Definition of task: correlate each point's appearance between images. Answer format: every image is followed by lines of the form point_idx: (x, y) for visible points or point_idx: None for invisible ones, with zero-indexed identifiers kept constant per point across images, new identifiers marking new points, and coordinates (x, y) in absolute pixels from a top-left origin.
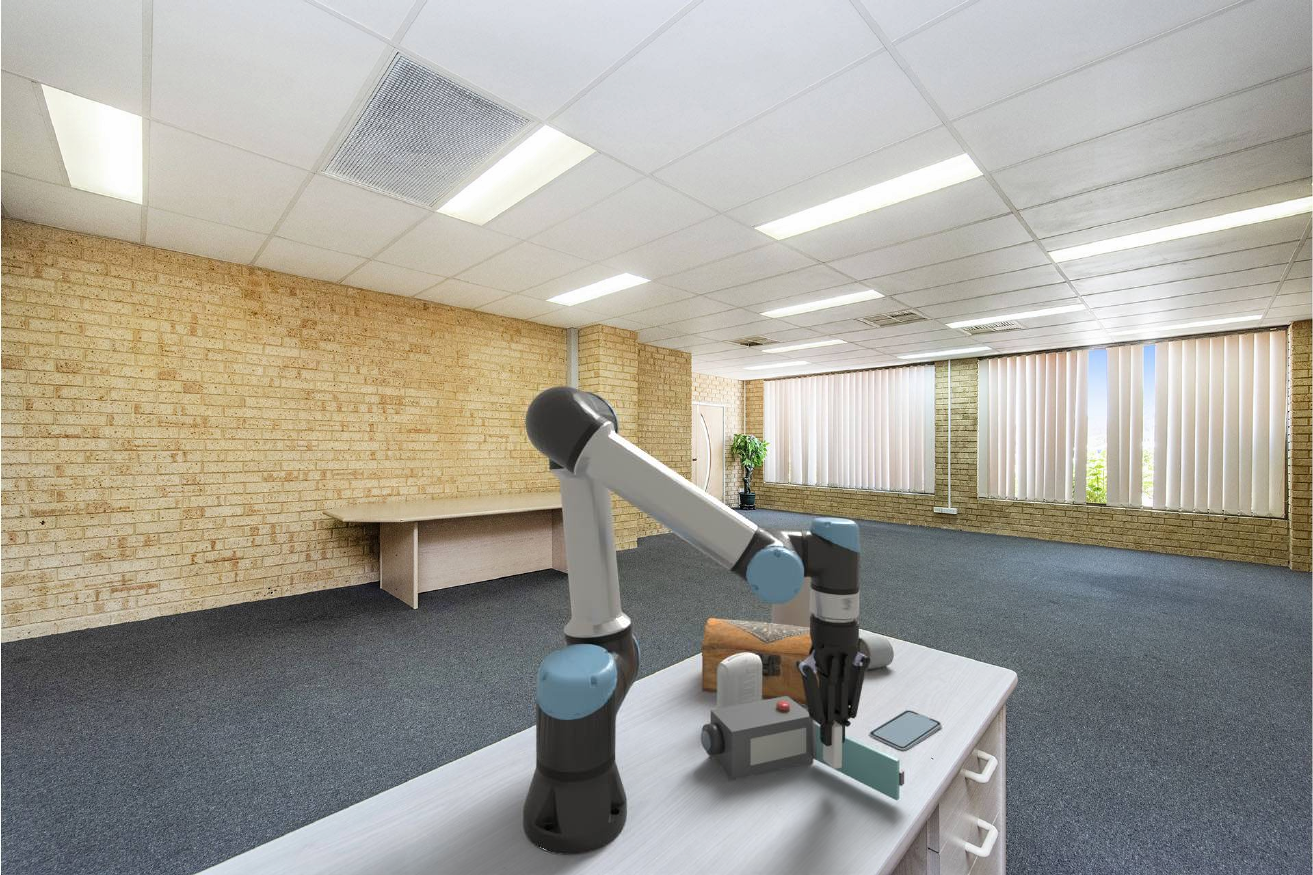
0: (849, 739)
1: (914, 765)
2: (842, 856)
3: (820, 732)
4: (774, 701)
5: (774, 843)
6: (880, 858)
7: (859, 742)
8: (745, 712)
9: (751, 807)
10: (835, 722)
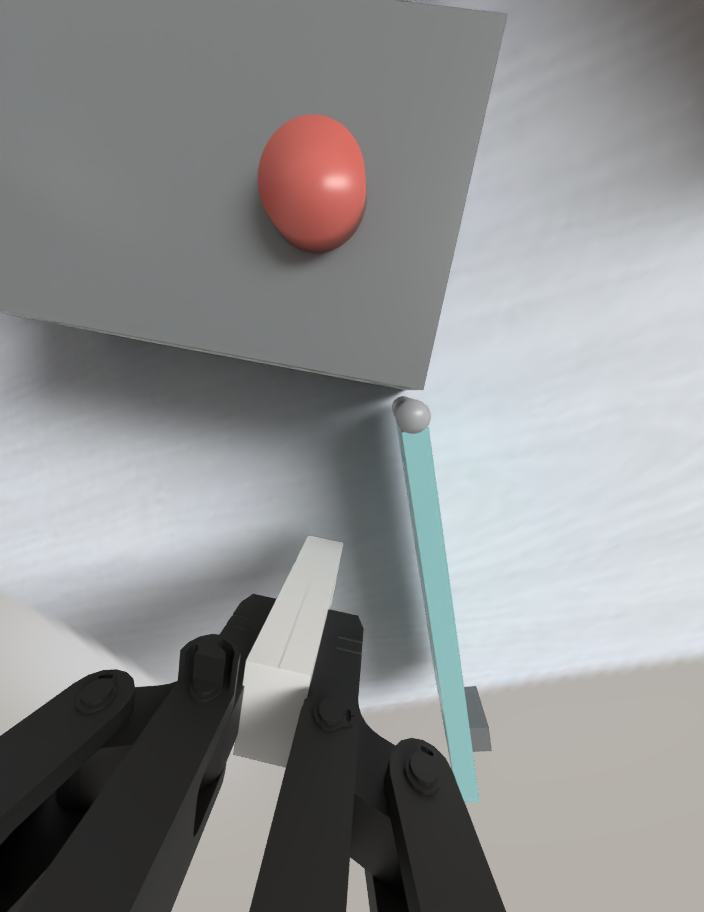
0: (432, 610)
1: (683, 582)
2: None
3: (224, 629)
4: (337, 58)
5: (77, 576)
6: None
7: (450, 650)
8: (46, 110)
9: (93, 458)
10: (288, 723)
